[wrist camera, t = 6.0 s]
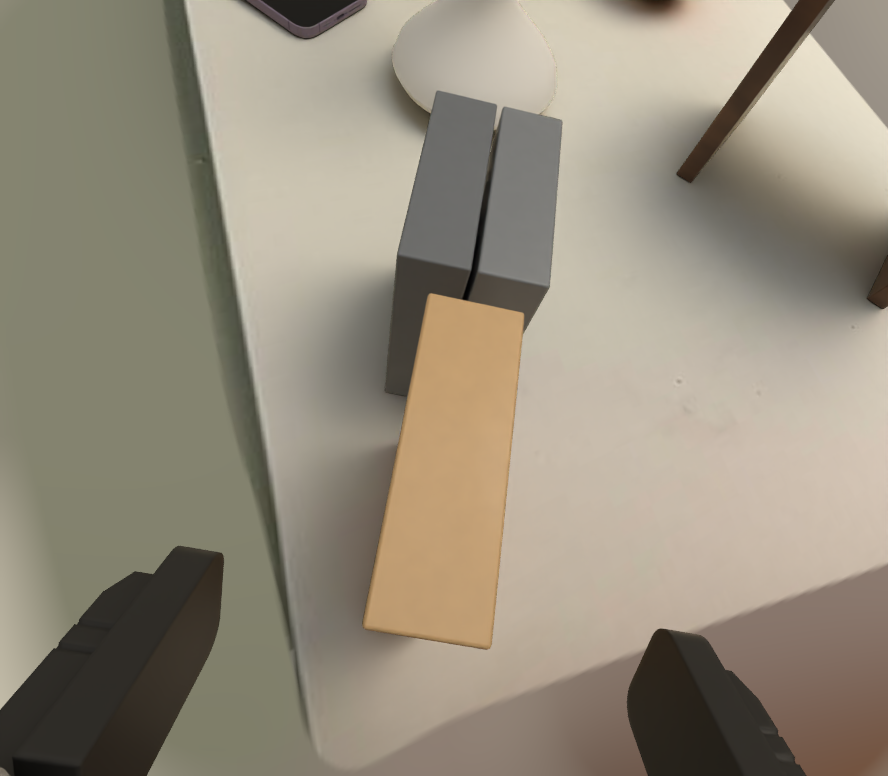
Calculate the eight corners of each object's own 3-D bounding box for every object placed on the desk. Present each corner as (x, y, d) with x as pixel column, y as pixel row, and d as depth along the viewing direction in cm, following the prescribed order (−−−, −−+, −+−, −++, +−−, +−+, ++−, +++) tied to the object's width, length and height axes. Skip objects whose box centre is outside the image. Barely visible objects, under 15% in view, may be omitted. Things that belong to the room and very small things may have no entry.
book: (450, 453, 25) (525, 311, 13) (423, 630, 22) (492, 650, 10) (398, 443, 25) (428, 291, 13) (363, 620, 22) (361, 628, 10)
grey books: (496, 285, 30) (563, 119, 20) (480, 411, 26) (550, 287, 16) (412, 267, 29) (436, 88, 19) (384, 392, 26) (396, 254, 16)
